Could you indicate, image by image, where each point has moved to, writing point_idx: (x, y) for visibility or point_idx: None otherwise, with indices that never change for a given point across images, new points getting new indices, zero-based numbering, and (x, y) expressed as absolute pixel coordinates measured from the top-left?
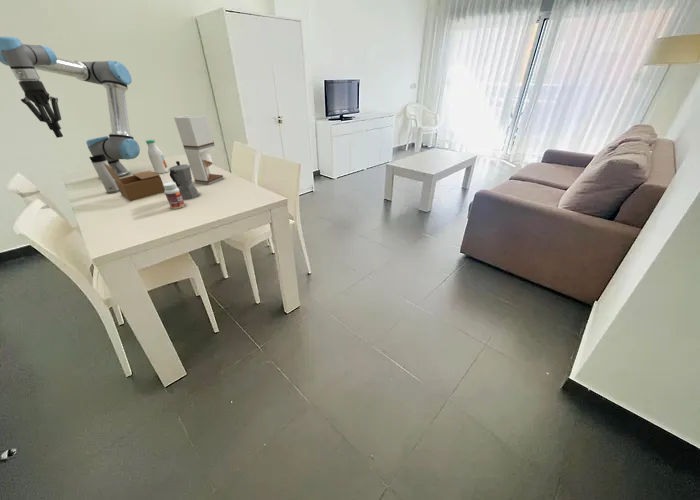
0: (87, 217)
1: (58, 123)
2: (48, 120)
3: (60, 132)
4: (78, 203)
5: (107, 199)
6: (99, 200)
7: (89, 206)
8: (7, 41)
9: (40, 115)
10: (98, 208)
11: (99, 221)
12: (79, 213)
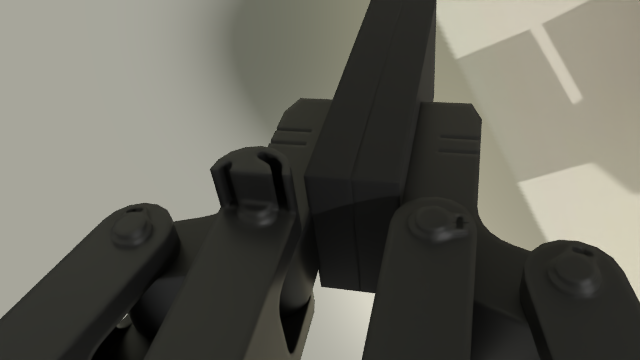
0: (569, 233)
1: (476, 192)
2: (299, 295)
3: (428, 59)
4: (448, 15)
5: (628, 5)
6: (574, 6)
7: (537, 96)
8: None
9: (75, 357)
10: (598, 146)
11: (632, 288)
12: (514, 174)
